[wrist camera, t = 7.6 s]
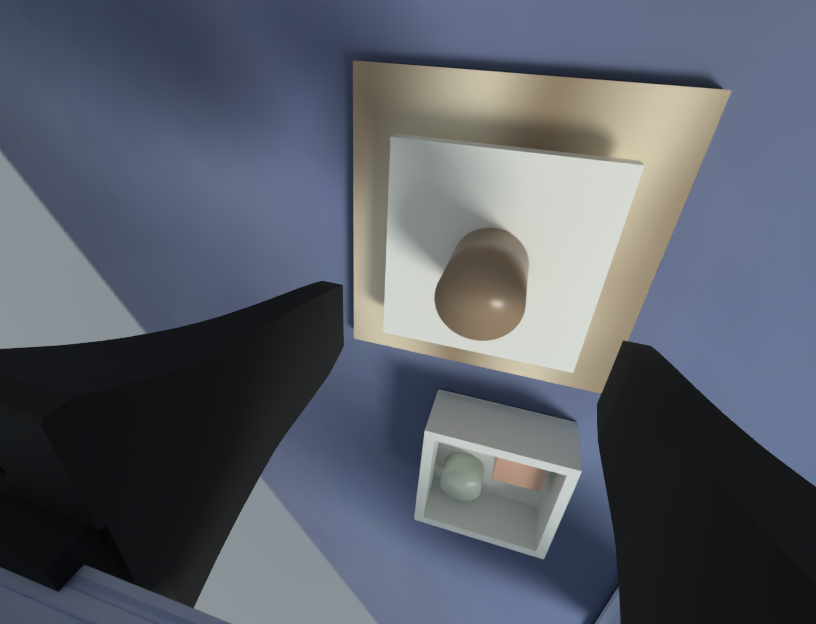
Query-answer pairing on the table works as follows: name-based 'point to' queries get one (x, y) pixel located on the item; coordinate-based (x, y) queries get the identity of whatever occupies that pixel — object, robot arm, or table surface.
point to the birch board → (537, 129)
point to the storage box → (497, 472)
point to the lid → (501, 245)
